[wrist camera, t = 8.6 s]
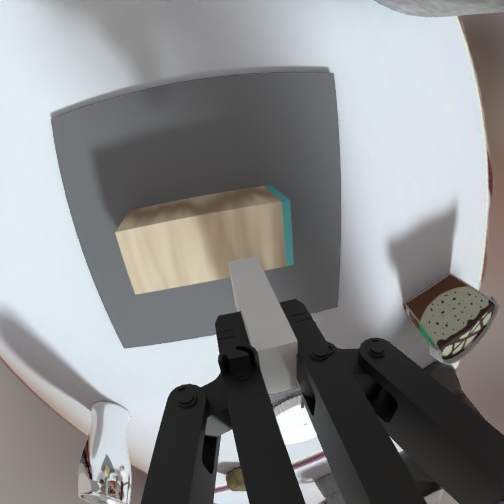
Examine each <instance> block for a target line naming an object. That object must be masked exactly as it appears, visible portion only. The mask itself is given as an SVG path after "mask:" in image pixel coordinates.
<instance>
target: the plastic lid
mask: <svg viewBox="0 0 504 504" xmlns="http://www.w3.org/2000/svg"><path fill="white" fill-rule="evenodd" d="M273 410H274V413H275V416H276V419H277V422H278V425H279V428H280V431H281V434H282V437H283V440H284V443H285V445H286V444H293V443H294V444H295V443H299V442H303V441H306V440H309V439H312V438H315V437H317V434H316V432H315V429H314V427H313V425H312V422H311V420H310V417H309V415H308V412H307V410H306V408H305V405H304V408H301V396H300V395H299V396H297V397H294V398H291V399H289V400H286V402H282V404H279V405H278V406H276V407H275V408H273Z"/></svg>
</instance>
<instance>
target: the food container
mask: <svg viewBox="0 0 504 504" xmlns="http://www.w3.org/2000/svg"><path fill="white" fill-rule="evenodd" d="M403 305H404V309H405V311H406V313H407V314H408V316H409V317H410V318H411V320H412V321H413V322H414V324H415V325H416V326H417V328H418V329H419V330H420V332H421V333H422V335H423V336H424V337H425V339H426V340H427V342H428V343H429V344H430V345H429V353H430V355H431V356H432V357H434V358H435V359H437V360H438V361H439V362H441V363H444V364H452V363H455V362H457V361H459V360H460V359H462V358H463V357H465V356H466V355H467V354H468V353H469V352H470V351H472V349H474V347H475V346H476V345H477V344H478V343H479V342H480V341H481V339H482V338H483V337H484V336H485V334H486V333H487V331H488V330H489V328H490V326H491V325H492V323H493V321H494V319H495V317H496V315H497V312H498V309H499V305H498V304H497V301H496V300H495V298H494V297H493V296H492V297H491V299H490V298H488V297H487V296H485V295H484V294H483V293H481V292H480V291H478V290H476V289H475V288H473V287H472V286H470V285H469V284H467V283H466V282H464V281H462V280H461V279H459V278H458V277H456V276H454V275H453V274H451V273H449V274H447V275H446V276H445V277H443V278H442V279H440V280H439V281H437V282H436V283H434V284H433V285H431V286H429V287H428V288H426V289H425V290H423V291H422V292H420V293H418V294H417V295H415V296H414V297H412V298H410V299H409V300H407V301H405V302H404V303H403Z"/></svg>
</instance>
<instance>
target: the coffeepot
mask: <svg viewBox="0 0 504 504" xmlns="http://www.w3.org/2000/svg"><path fill="white" fill-rule="evenodd" d="M316 485H317V487H318V488H319V490H320V491H321V493H322V494H323V496H324V497H325V498H326V500H327V502H325V504H346V503H345V501H344V499H343V496H342V494H341V492H340V489H339V487H338V485H337V482H336V480H335V477H334V475H333V473H330V474H328V475H325V476H323V477H321V478H320V479H318V480H317V481H316Z"/></svg>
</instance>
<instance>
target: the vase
mask: <svg viewBox="0 0 504 504" xmlns="http://www.w3.org/2000/svg"><path fill="white" fill-rule="evenodd" d="M374 1H376V2H378V3H380V4H382V5H384V6H386V7H388V8H390V9H392V10H394V11H398V12H401V13H404V14H408V15H413V16H422V17H446V16H458V15H468V14H483V13H496V12H504V0H374Z"/></svg>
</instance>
